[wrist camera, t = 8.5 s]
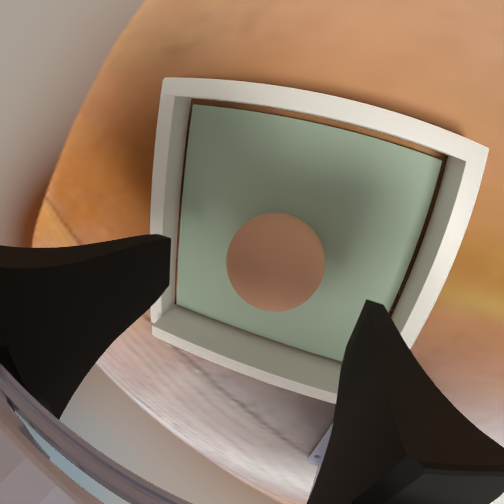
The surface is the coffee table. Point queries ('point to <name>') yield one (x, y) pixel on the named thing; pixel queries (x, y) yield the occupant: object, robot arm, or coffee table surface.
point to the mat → (303, 207)
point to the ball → (275, 262)
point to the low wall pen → (330, 107)
